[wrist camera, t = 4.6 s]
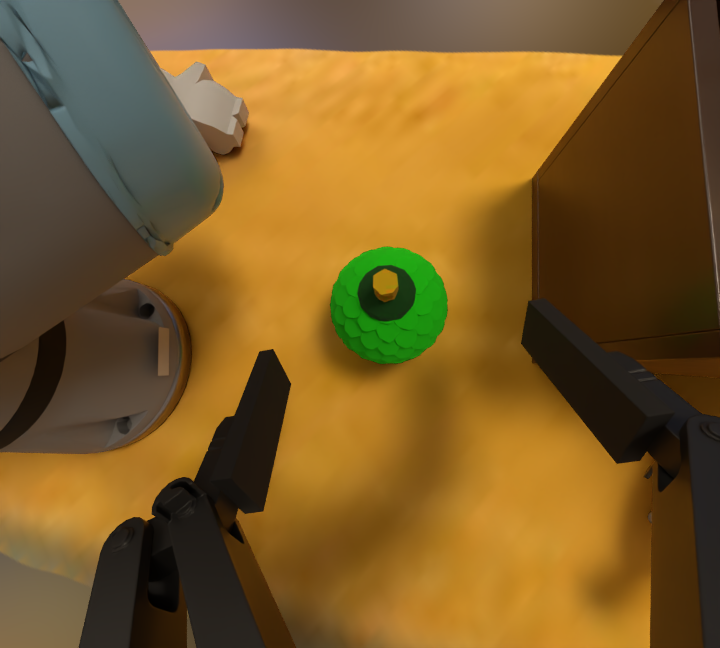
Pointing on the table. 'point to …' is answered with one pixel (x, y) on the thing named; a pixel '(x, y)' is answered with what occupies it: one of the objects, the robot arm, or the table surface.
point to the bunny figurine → (211, 107)
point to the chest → (641, 201)
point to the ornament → (388, 305)
